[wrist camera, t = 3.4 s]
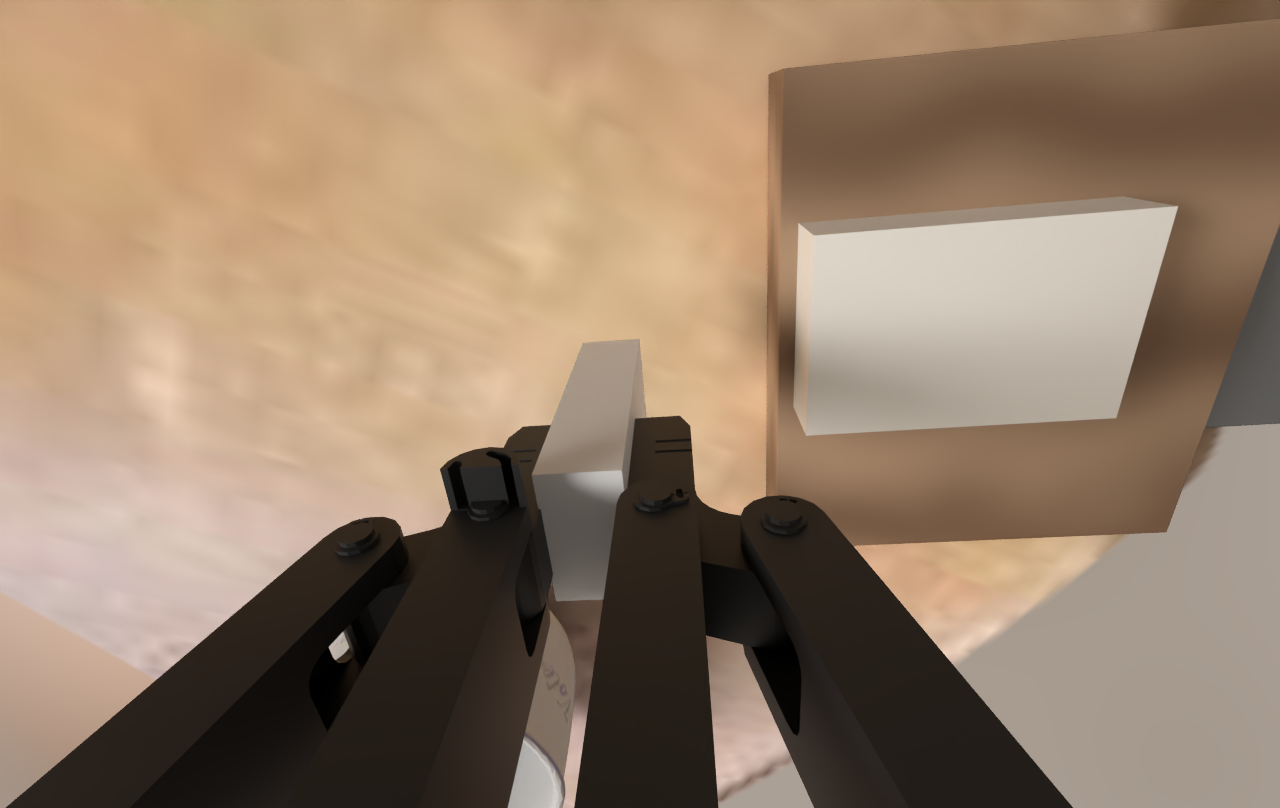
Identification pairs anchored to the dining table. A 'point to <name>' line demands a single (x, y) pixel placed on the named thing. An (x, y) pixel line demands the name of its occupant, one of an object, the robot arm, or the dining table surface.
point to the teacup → (539, 724)
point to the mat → (1254, 358)
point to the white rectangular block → (973, 314)
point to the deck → (1017, 175)
